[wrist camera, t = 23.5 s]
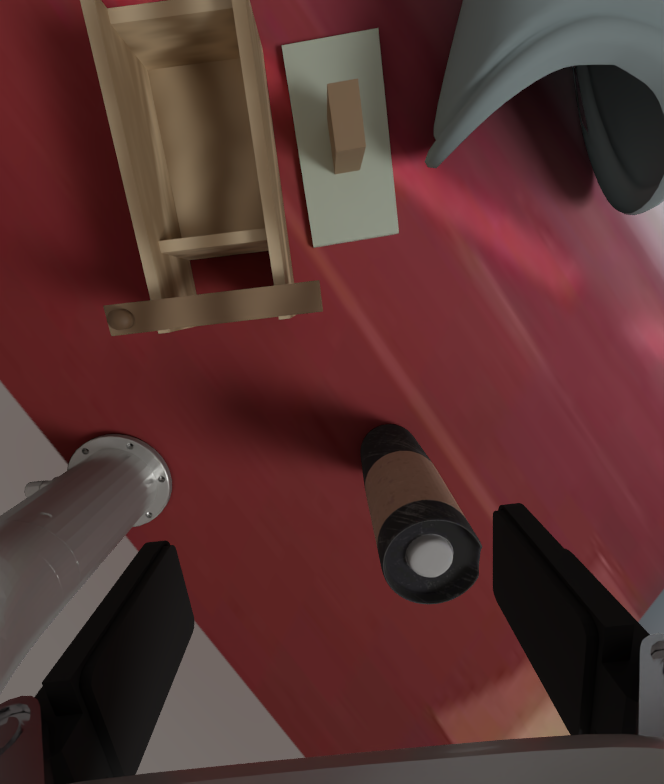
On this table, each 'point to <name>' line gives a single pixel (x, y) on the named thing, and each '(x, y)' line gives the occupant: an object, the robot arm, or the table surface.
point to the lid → (342, 136)
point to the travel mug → (416, 520)
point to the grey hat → (595, 76)
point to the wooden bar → (214, 308)
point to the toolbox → (191, 135)
